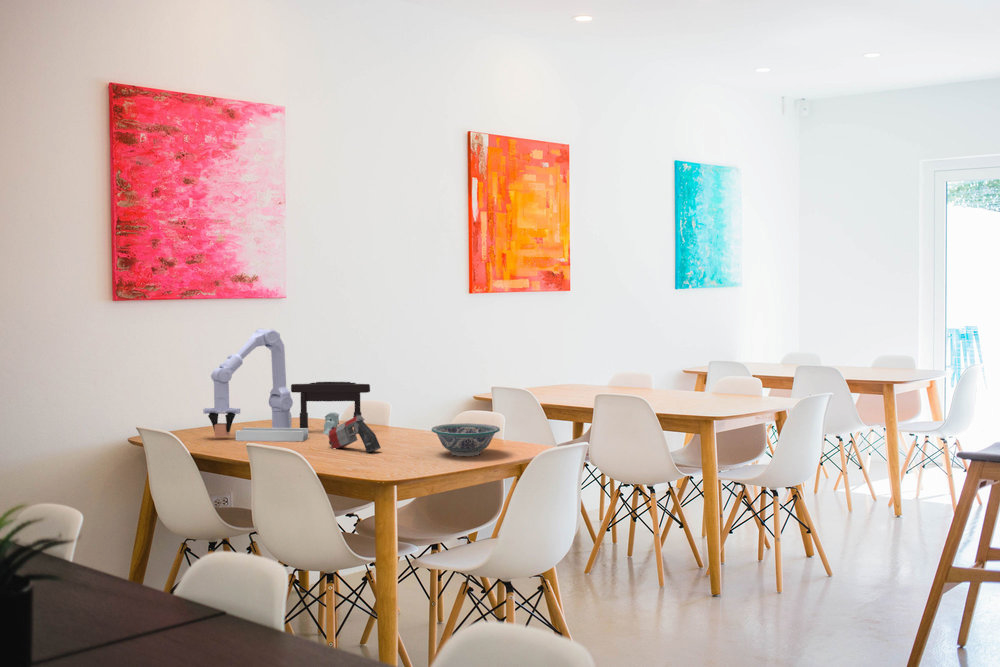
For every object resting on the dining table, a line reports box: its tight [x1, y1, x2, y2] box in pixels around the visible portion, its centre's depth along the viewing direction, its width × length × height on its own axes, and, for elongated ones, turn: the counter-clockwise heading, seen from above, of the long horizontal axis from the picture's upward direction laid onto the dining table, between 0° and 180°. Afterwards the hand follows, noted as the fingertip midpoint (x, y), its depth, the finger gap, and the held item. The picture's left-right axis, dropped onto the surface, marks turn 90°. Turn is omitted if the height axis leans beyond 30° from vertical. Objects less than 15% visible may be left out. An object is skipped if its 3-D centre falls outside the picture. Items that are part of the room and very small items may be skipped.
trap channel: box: [235, 427, 309, 442], centre depth 385 cm, size 8×27×4 cm, turn 86°
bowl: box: [431, 422, 501, 457], centre depth 353 cm, size 25×25×10 cm
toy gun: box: [327, 414, 382, 453], centre depth 362 cm, size 5×22×15 cm, turn 56°
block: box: [214, 422, 231, 437], centre depth 387 cm, size 4×4×4 cm
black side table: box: [290, 381, 371, 436], centre depth 404 cm, size 16×21×33 cm
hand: (222, 431), depth 387 cm, fingers closed on block, 4 cm apart
